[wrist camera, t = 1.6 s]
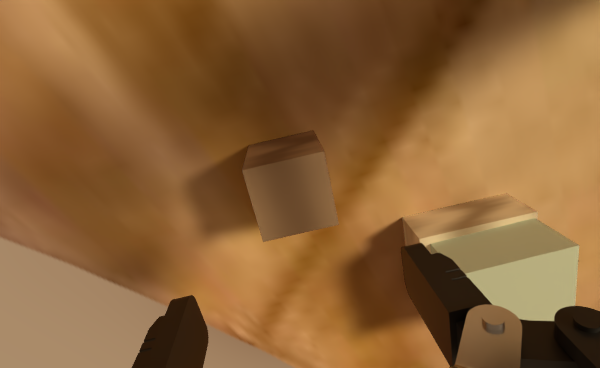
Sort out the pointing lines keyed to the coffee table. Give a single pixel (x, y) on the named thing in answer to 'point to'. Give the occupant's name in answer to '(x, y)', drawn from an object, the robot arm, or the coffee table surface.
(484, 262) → the tower top
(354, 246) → the coffee table surface
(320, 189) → the walnut block
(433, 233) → the block
